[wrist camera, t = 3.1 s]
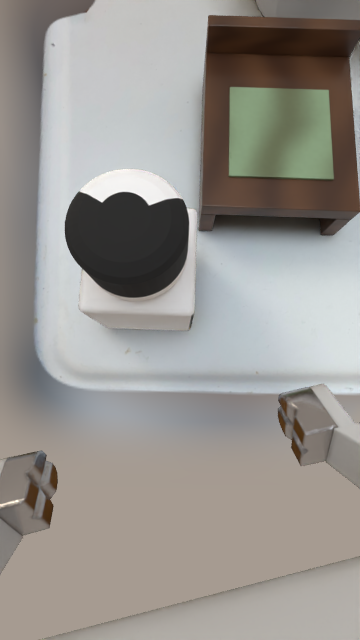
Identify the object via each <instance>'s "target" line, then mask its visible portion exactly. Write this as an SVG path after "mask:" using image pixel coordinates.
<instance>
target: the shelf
mask: <svg viewBox="0 0 360 640" xmlns="http://www.w3.org/2000/svg"><path fill="white" fill-rule="evenodd" d="M359 38H360V20H345V19H313V18H281V17H248V16H216V15H209V16H208V27H207V40H206V53H205V65H204V77H203V94H202V129H201V164H200V199H199V231H212V229H213V224H214V220H215V215H216V214H219V215H247V216H276V217H305V218H320V231H321V235H334V234H335V233H337V232H338V231H339V230H340V229H341V228H342V227H343V226H344V225H346V224H347V223H348V222H349V221H350V220H351V219H352V218H354V217H355V216H356V215H357V214H358V213H359V212H360V199H359V185H358V172H357V158H356V145H355V131H354V118H353V105H352V91H351V78H350V64H349V57H350V55H351V53H352V51H353V49H354V47H355V46H356V44H357V42H358V40H359Z"/></svg>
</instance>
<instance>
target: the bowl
mask: <svg viewBox="0 0 360 640" xmlns="http://www.w3.org/2000/svg"><path fill="white" fill-rule="evenodd" d="M255 1H256V3H257V6H258V8H259V10H260V11H261V13H262V14H263V16H264V17H281V18H313V19H345V20H360V0H255Z"/></svg>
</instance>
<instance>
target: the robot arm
mask: <svg viewBox="0 0 360 640" xmlns="http://www.w3.org/2000/svg"><path fill="white" fill-rule="evenodd" d="M278 401H279V403H280V405H281V406H280V407H279V408H278V418H279V423H280V425H281V428H282V430H283V432H284V434H285V436H287V437H288V438H289V439H291V440H292V446H291V448H292V450H293V452H294V454H295V456H296V458H297V459H298V461H299V463H300V465H301V466H305V465H309V464H314V463H319V462H324V461H326V463H328V464H329V465H330V466H331V467H333V468H334V469H335V470H337V471H338V472H339V473H341V474H342V475H343V476H345V478H347V479H348V480H349V481H351V482H352V483H353V484H354V485H356V486H357V487H358V488H360V422H359V423H355V422H354V421H353V420H352V419H351V417H350V416H349V414H347V412H346V411H345V409H344V408H343V407H342V405H341V404H340V403H339V402H338V400H337V399H336V398H335V397H334V395H333V394H332V392H331V391H330V390H329V389H328V387H327V386H326V385H324V384H318V385H315V386H311V387H305V388H301V389H297V390H293V391H289V392H285V393H281V394H280V395H279V400H278ZM57 483H58V479H57V471H56V468H55V466H54V465H53V463H51V462H48V461H46V454H45V453H44V452H43V451H37V452H32V453H27V454H23V455H18V456H14V457H9V458H4V459H0V574H1V572H2V571H3V569H4V568H5V566H6V564H7V563H8V561H9V559H10V557H11V556H12V555H13V553H14V551H15V550H16V548H17V546H18V545H19V543H20V542H21V540H22V538H23V535H27V534H30V533H34V532H38V531H41V530H45V529H48V528H50V522H51V517H52V511H53V504H52V502H51V500H50V499H51V498H52V496H53V495H54V493H55V492H56V489H57ZM40 640H360V556H359V557H355V558H351V559H348V560H343V561H340V562H336V563H332V564H328V565H325V566H320V567H316V568H313V569H309V570H305V571H301V572H298V573H293V574H290V575H286V576H282V577H278V578H274V579H270V580H267V581H263V582H259V583H255V584H251V585H248V586H244V587H240V588H236V589H232V590H229V591H225V592H221V593H217V594H213V595H209V596H205V597H201V598H197V599H194V600H190V601H186V602H182V603H178V604H175V605H171V606H167V607H163V608H159V609H156V610H151V611H148V612H144V613H140V614H136V615H133V616H128V617H125V618H121V619H117V620H113V621H109V622H106V623H102V624H98V625H94V626H90V627H87V628H83V629H79V630H75V631H71V632H67V633H63V634H59V635H56V636H52V637H48V638H44V639H40Z"/></svg>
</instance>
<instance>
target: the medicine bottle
mask: <svg viewBox="0 0 360 640" xmlns="http://www.w3.org/2000/svg"><path fill="white" fill-rule="evenodd" d="M65 237H66V242H67V245H68V248H69V250H70V253H71V255H72V256H73V258H74V259H75V261H76V262H77V263H78V264H79V265H80V267H81V268H82V274H81V284H80V294H79V305H78V307H79V310H80V311H81V312H82V313H84V314H85V315H87V316H89V317H90V318H92V319H94V320H95V321H97V322H99V323H100V324H102V325H103V326H105V327H107V328H120V329H149V330H177V331H188V330H189V329H190V328H191V324H192V320H193V315H194V311H195V278H196V241H197V212H196V210H195V209H193V208H186V205H185V203H184V201H183V199H182V197H181V196H180V194H179V193H178V191H177V190H176V189H175V188H174V187H173V186H172V185H171V184H170V183H169V182H168V181H166V180H165V179H163V178H162V177H160V176H158V175H156V174H154V173H151V172H147V171H144V170H138V169H119V170H114V171H110V172H107V173H104V174H102V175H100V176H98V177H96V178H94V179H93V180H91V181H90V182H88V183H87V184H86V185H85V186H84V187H83V188H82V189H81V190H80V191H79V192H78V193H77V194H76V196H75V197H74V199H73V200H72V202H71V204H70V206H69V209H68V212H67V215H66V220H65Z"/></svg>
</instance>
